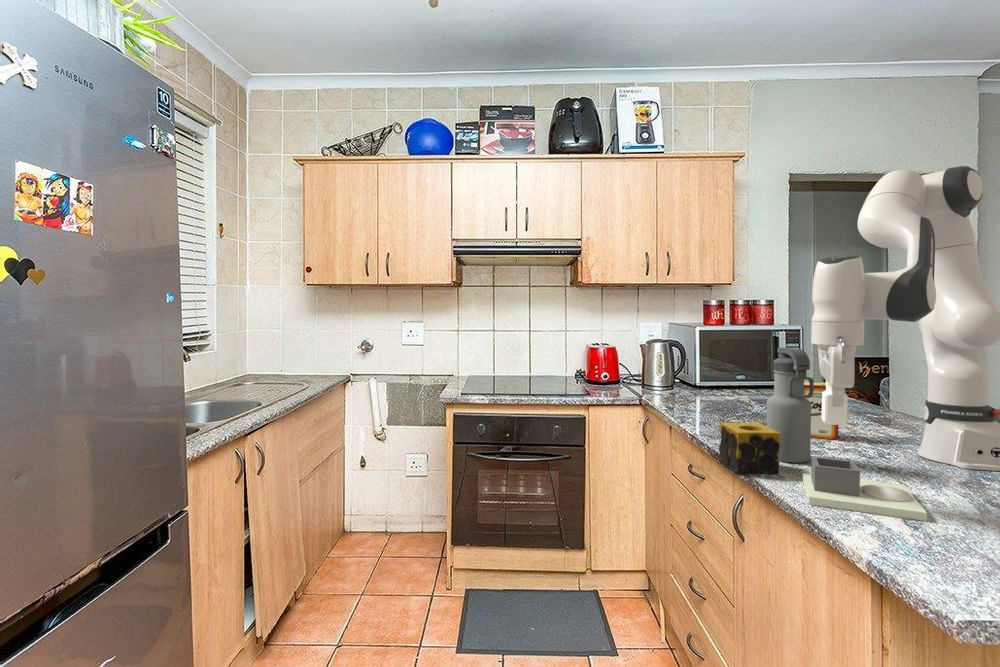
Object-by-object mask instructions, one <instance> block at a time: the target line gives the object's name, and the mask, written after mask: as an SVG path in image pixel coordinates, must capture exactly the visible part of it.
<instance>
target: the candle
mask: <svg viewBox="0 0 1000 667" xmlns="http://www.w3.org/2000/svg"><path fill="white" fill-rule="evenodd" d="M719 427H720V428H719V429H720V430H719V431H720V433H719V434H720V443H719V447H718V452H719V453H718V454H719V455H718V462H719V463H720V464H721V465H722V466H724V467H725V468H727V469H728V470H730V471H731V472H733V473H734V474H736V475H753V474H766V475H779V473H780V461H779V448H780V433H779V432H777V431H775V430H773V429H771V428H769V427H767V425H764V424H762V423H760V422H720V424H719Z"/></svg>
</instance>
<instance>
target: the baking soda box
mask: <svg viewBox="0 0 1000 667" xmlns="http://www.w3.org/2000/svg"><path fill="white" fill-rule="evenodd" d="M809 391H810V382H809V381H808V382H807V381H804V396H806V395H808V394H809ZM824 391H826V382H814V392H813V396H812V397H811V398H806V399H808V400H809V401H810V403H811V439H813V438H818V439H817V440H823V439H827V440H826V441H833V440H838V441H839V426H840V425H832V424H825V423H824V422H823V420H822V392H824ZM828 439H829V440H828Z"/></svg>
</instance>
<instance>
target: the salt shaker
mask: <svg viewBox="0 0 1000 667" xmlns="http://www.w3.org/2000/svg"><path fill="white" fill-rule="evenodd" d="M825 383H826V391H824V392H822V420H823V422H824V423H825V424H832V425H839V426H845V425H847V423H848V405H849V404H848V401H849V400H848V398H849V397H848V394H847V393H846V392H845V393H844V397H843V406H842V407H834V406H832V404H831V397H832V389H831V385H830V384H829V383H828V382H827V381H826V380H825Z"/></svg>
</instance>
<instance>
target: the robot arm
mask: <svg viewBox="0 0 1000 667" xmlns="http://www.w3.org/2000/svg"><path fill="white" fill-rule="evenodd" d="M983 191H984V186H983V180H982V178H981V176H980V174H979V173H978V171H977V170H975V169H974V168H973V167H970V166H968V165H962V166H953V167H948V168H946V170H940V171H935V172H931V173H927V174H923V175H921V174H919V173H918V172H916V171H913V170H911V169H896V170H893V171H890V172H889V173H886V174H884V175H883V176H882V177H881V178H880V179H879V180H878V181H877V182H876V184H875V185H874V186H873V187H872V189H871V190H870V191H869V193H868V195H867V196H866V198H865V200H864V202H863V204H862V207H861V209H860V210H859V211H860V212H859V214H858V218H857V230H858V232H859V234H860V235H861V237H862V238H863V239H864V240H865V241H867V242H868V243H869V244H871V245H874V246H876V247H878V248H883V249H890V250H897V251H903V252H906V254H907V255H906V257H907V258H906V267H904V268H903V269H899V270H894V271H885V272H884V271H881V272H865V268H864V263H863V262H864V261H863V259H862V258H863V257H861V256H859V255H857V254H844V255H843V254H842V255H841V254H840V255H835V256H828V257H823V258H822V259H820V260H819V261H817V263H816V265H815V270H814V274H813V281H812V295H811V296H812V297H811V301H812V304H813V315H812V317H811V333H810V343H811V344H812V345H816V346H817V352H818V353H817V354H818V356H817V357H818V365H819V366H818V367H819V372H820V375H821V376H822V378H824V380H825V382H826V381H827V382H828V383H829V384H830V385H831V389H832V397H831V404H832V406H834V407H842V406H843V397H844V393H846V392H845V391H846V389H853V387H854V386H855V354H856V352H857V351H856V350H857V348H856V347H857V346H863V345H864V343H865V341H864V340H865V320H878V321H880V320H882V321H883V320H886V321H888V320H892V321H897V322H907V323H908V322H911V323H916V322H918V321H919V322H918V327H919V331H920V333H921V336H922V342H923V349H924V353H925V359H926V364H927V398H926V400H925V402H924V407H923V410H924V411H923V420H924V422H925V424H924V425H925V426H924V431H923V437H922V441H921V443H920V447H919V449H918V450H917V455H919V456H920V457H922V458H925V459H927V460H930V461H935V462H938V463H939V462H940V463H943V464H948V465H951V466H955V467H958V468H961V469H966V470H967V469H968V470H979V471H981V470H982V471H996V472H999V471H1000V422H998V421H997V420H998V419H1000V408H994V407H993V406H990V405H989V404H988V387H989V386H988V384H989V383H988V382H989V380H988V377H989V373H988V370H987V369H986V367H985V365H984V363H983V359H982V355H981V351H980V349H982V348H986V347H989V346H992V345H994V344H996V343H997V342H999V341H1000V310H999V309H998V308H997V307H996V305H995V303H994V300H993V298H992V296H991V293H990V291H989V289H988V287H987V284H986V282H985V280H984V276H983V273H982V269H981V263H980V257H979V253H978V246H977V243H976V236H975V233H974V229H973V225H972V223H971V220H970V218H969V215H971V212H972V211H973V210H974V209H975V208H977V206H978V205H979V204H980V202H981V200H982V198H983V194H984V192H983Z"/></svg>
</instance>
